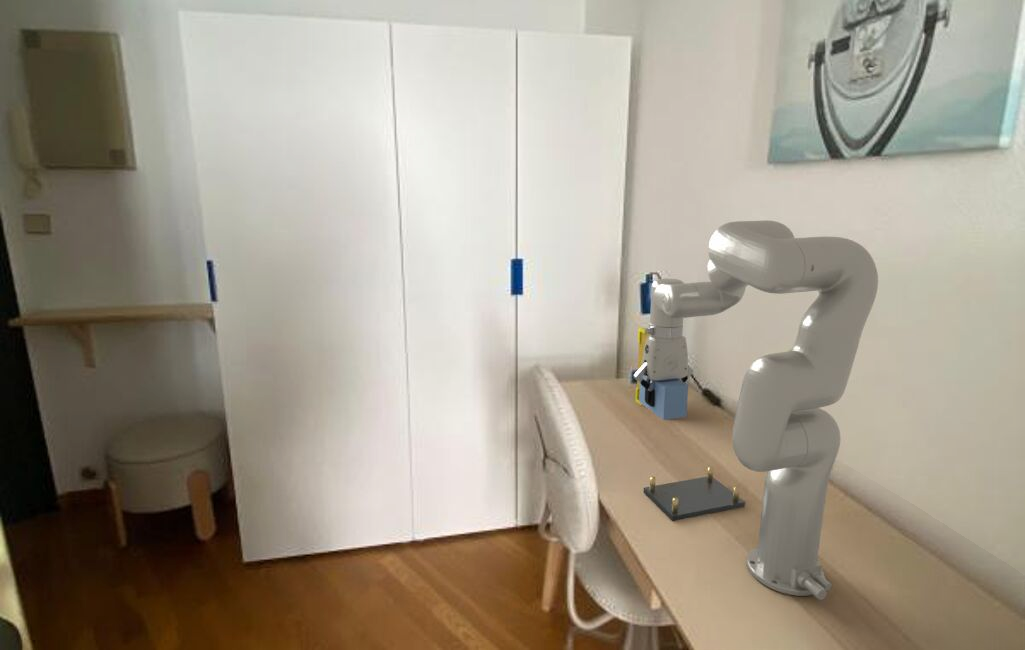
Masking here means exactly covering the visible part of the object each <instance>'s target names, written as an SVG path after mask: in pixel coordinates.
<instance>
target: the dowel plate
mask: <svg viewBox="0 0 1025 650" xmlns="http://www.w3.org/2000/svg"><path fill="white" fill-rule="evenodd" d="M706 474H707V475H706V476H702V477H697V478H692V479H691V478H690V479H685V480H681V481H680V480H679V481H674V482H669V483H663V484H656V481H657V479H656V477H655V476H650V477H649V486H646V487H643V493H644V495H646V497H647V498H648V499H649V500H651V501H652V503H654V505H656V507H658V509H660V511H662V513H664V515H666V516H667V518H669V520H670V521H672V522H675V521H680V520H685V519H686V520H687V519H690V518H697V517H701V516H705V515H711V514H716V513H721V512H726V511H731V510H736V509H742V508H745V507H746V501H744V500H743V499H742V498H741V497H740V486H738V485H734V486H733V491H732V490H730V489H729V488H728V487H726V486H725V485H724V484H722V482H720V481H718V480H717V479H716V478H714V477H713V475H714V467H712V466H708V467H707V473H706Z"/></svg>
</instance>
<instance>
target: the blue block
mask: <svg viewBox="0 0 1025 650" xmlns="http://www.w3.org/2000/svg"><path fill="white" fill-rule="evenodd" d="M646 377H647V376H644V375H643V376H642V378H643V379H644V380H645V379H646ZM653 391H655V400H654V407H651V406H649V405H648V404H647V403H646V402H645V388H644V387H643V386H642V385H641V384H640V394H639V402H640V403H641V404H643V405H644V406H645V408H646V407H647V408H648V410H649V411H650V410H651V411H650V412H652V413H654V414H655V415H656V416H657V417H659V418H660V419H661V420H662V421H666V420H668V419H673V420H676V419H681V418H687V411H688V397H689V395H688V394H689V384H687V383H686V382H685V383H684V382H683V381H681V380H679V379H673V380H664V381H655V386H654V388H653ZM643 405H642V406H643ZM644 406H643V407H644ZM647 408H646V409H647ZM675 418H676V419H675Z"/></svg>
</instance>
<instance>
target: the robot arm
mask: <svg viewBox="0 0 1025 650" xmlns="http://www.w3.org/2000/svg"><path fill="white" fill-rule="evenodd" d="M707 252H708V257H709V260H708V263H707V267H706V268H707V270H706V271H707V276H708V278H709V280H710V281H700V282H699V281H698V282H688V283H685V282H684V281H682V280H680V279H677V278H658V279H655V280H654V281H653V282H652V283H651V288H650V289H651V291H650V292H651V293H650V311H649V312H650V314H649V325H648V327H647V328H646V327H645V328H646V329H645V333H646V334H649V336H648V337H647V339H646V343H645V347H644V353H643V361H642V366H641V367H640V369H639V370H638V369H637V371H635V373H634V374H633V378H634V379H635V380H636V381H638V382H639V383H640V384H641V385H642V386H643V387H644V388H645V402H646V403H647V404H648V405H649V406H651V407H654V400H655V391H653V388H654V386H655V381H664V380H673V379H679V380H681V381H683V382H684V383H686V382H687V381H688V379H689V378H690V377H691V376H692V374H693V373H694V370H693V369H692V367H691V366H690V365H689V358H688V357H689V353H688V344H687V339H686V337H685V336H683V332H684V331H683V330H684V319H686V318H687V319H688V318H695V317H706V316H709V317H710V316H715V315H718V314H721V313H724V312H725V311H726V310H729V309H730V308H732V307H734V306H735V305H737V304H738V303H739V302H741V300H742V299H743V296H744V295H745V292H746V288H747V287H748V286H750V287H753V288H754V289H756V290H759V291H762V292H764V293H768V294H774V295H775V294H777V295H782V294H793V293H805V292H806V293H807V292H817V291H818V296H817V298H816V299H815V300H814V301H813V303H811V304H810V306H809V307H808V308H807V310H806V311H805V313H804V314H803V317H802V318H801V320H800V323H799V326H798V331H797V335H796V337H795V341H794V344H793V346H792V347H791V349H789V350H788V351H781V352H775V353H769V354H765V355H762V356H760V357H759V358H756V360H754V361H753V362H752V363H751V364H750V365H749V366H748V369H747V370H746V372H745V374H744V377H743V380H742V384H741V388H740V393H739V397H738V403H737V407H736V411H735V416H734V422H733V426H732V433H731V435H732V436H731V437H732V439H731V440H732V448H733V452H734V453H735V454H734V455H735V456H736V458H737V460H738V461H739V463H740V464H741V465H742V466H744V467H745V468H747V469H748V470H750V471H754V472H762V473H766V474H765V480H764V485H763V486H764V487H763V495H762V496H763V497H762V505H761V515H760V524H759V525H760V526H759V534H758V543H757V544H758V545H757V547H755V548H752V549H751V550H750V551H749V553H748V555H747V558H746V565H747V568H748V570H749V572H750V573H751V575H752V576H753V577H754V578H755V579H756V580H758V581H759V582H760V583H761V584H763V585H764V586H766V587H767V588H769V589H772V590H774V591H777V592H778V593H781V594H785V595H790V596H797V597H798V596H799V597H800V596H801V597H802V596H803V597H804V596H805V597H806V596H814V597H815V598H816V599H818V600H819V601H820V600H821V601H822V600H824V599H825V598H826V597H827V594H828V592H827V591H829V590H831V589H832V587H833V585H832V583H831V582H829V580H828V579H826V577H825V575H826V574H825V573H824V570H823V569H822V568H823V564H822V563H821V562H819V560H818V558H819V556H818V555H819V548H820V541H821V534H822V527H823V526H822V525H823V519H824V513H825V512H824V511H825V504H826V498H827V492H828V486H829V481H830V476H831V473H832V470H833V467H834V464H835V461H836V459H837V457H838V453H839V450H840V447H841V431H840V427H839V425H838V423H837V421H836V419H834V417H833V416H832V415H831V414H830V413H829V412H827V411H826V410H824V409H823V408H824V407H825V408H826V407H828V406H832V405H834V404H835V403H838V402H839V401H840V400H841V399H842V397H843V395H844V394H845V391H846V388H847V384H848V381H849V379H850V375H851V372H852V368H853V365H854V362H855V358H856V355H857V352H858V349H859V344H860V340H861V338H862V334H863V330H864V327H865V326H866V322H867V320H868V317H869V315H870V313H871V311H872V308H873V306H874V303H875V300H876V297H877V293H878V288H879V287H878V285H879V275H878V270H877V267H876V263H875V261H874V259H873V257H872V255H871V254H870V252H869V251H868V250H867V249H866V248H865V247H864V246H863V245H861V244H860V243H858V242H856V241H854V240H852V239H849V238H845V237H839V236H838V237H837V236H810V237H809V236H807V237H795V236H794V233H793V232H792V229H790V228H789V227H788V226H787V225H785V224H783V223H781V222H779V221H775V220H739V221H729V222H727V223H726V222H725V223H724V224H722V225H721V226H719V227H718V228H717V229H716V230H715V231H714V232H713V234H712V235H711V236H710V240H709V242H708V248H707ZM643 375H644V376H647V377H646V379H645V380H644V379H643V378H642V376H643Z"/></svg>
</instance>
